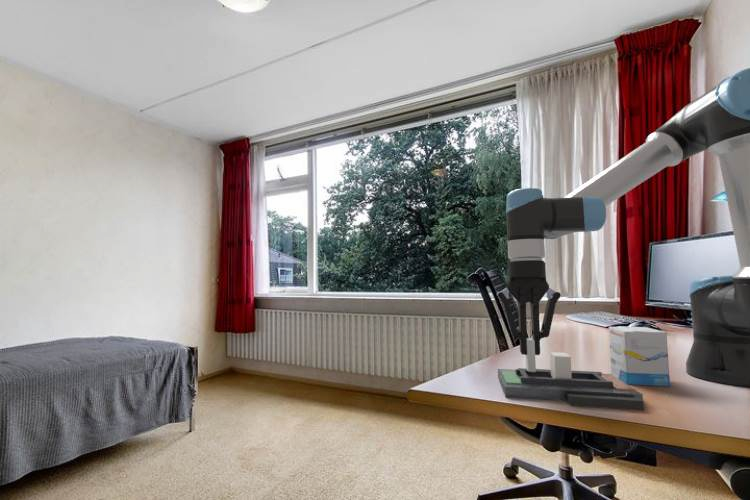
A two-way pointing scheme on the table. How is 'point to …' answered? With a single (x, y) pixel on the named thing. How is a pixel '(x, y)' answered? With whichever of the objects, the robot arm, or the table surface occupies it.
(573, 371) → the dark grey slim bar
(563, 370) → the white rectangular block
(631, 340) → the ink box
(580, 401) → the dark grey bar
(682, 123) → the robot arm
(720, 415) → the table surface
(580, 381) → the panel
